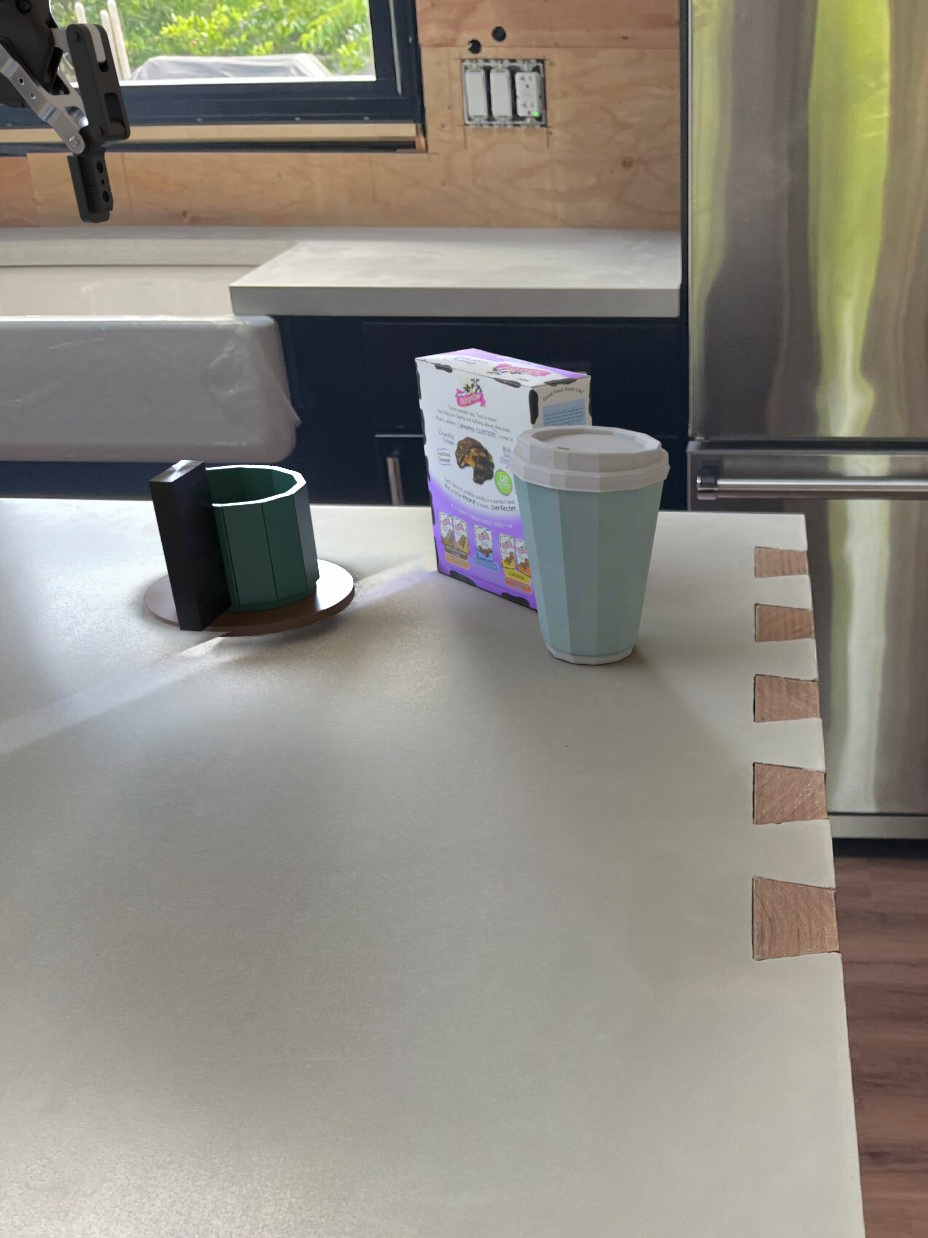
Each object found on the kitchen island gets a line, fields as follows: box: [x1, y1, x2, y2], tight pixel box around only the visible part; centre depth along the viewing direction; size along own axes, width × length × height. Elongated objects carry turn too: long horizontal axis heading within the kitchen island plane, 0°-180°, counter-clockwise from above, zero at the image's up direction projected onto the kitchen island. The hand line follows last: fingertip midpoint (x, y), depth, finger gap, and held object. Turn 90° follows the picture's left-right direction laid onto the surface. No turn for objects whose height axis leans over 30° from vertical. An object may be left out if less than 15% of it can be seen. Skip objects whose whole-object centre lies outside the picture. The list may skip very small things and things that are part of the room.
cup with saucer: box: [142, 459, 356, 638], centre depth 95 cm, size 18×15×11 cm
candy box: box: [414, 348, 593, 610], centre depth 101 cm, size 14×6×16 cm, turn 46°
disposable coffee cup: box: [508, 425, 671, 666], centre depth 91 cm, size 11×11×15 cm
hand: (36, 218), depth 85 cm, fingers open, 8 cm apart
